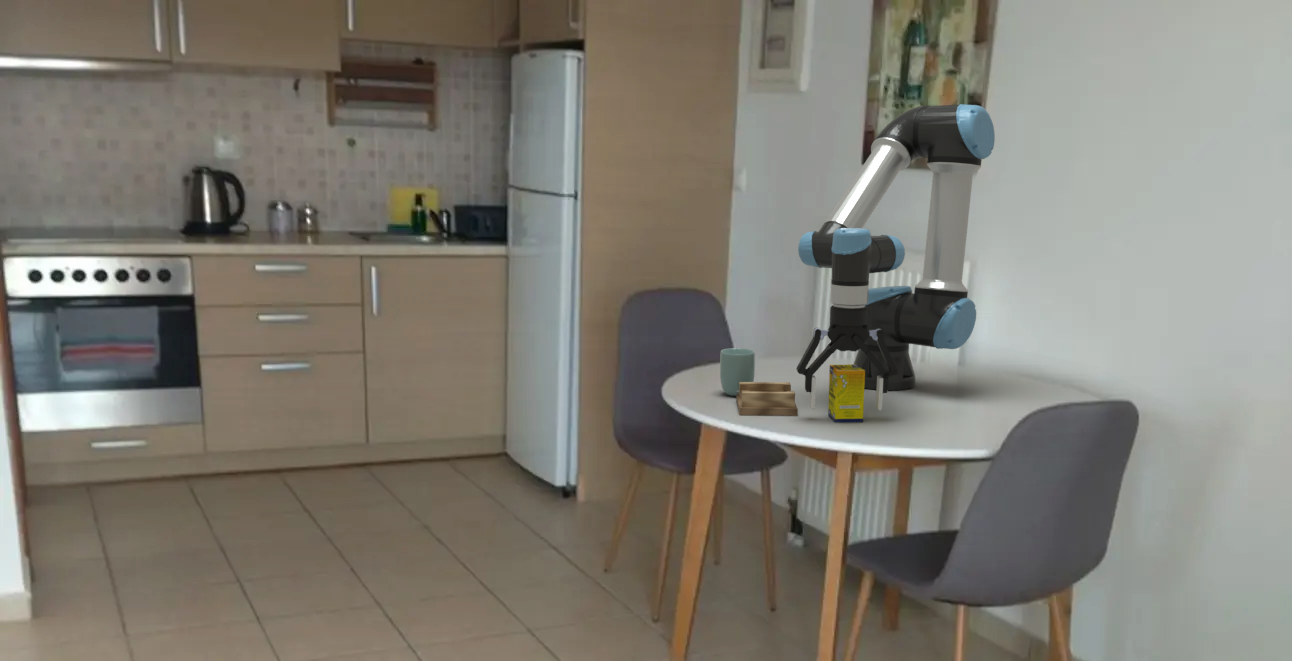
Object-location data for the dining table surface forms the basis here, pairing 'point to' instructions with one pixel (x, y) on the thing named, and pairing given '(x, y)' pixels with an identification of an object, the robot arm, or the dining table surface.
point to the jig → (766, 399)
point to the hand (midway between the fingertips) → (845, 408)
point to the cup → (736, 368)
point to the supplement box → (846, 393)
